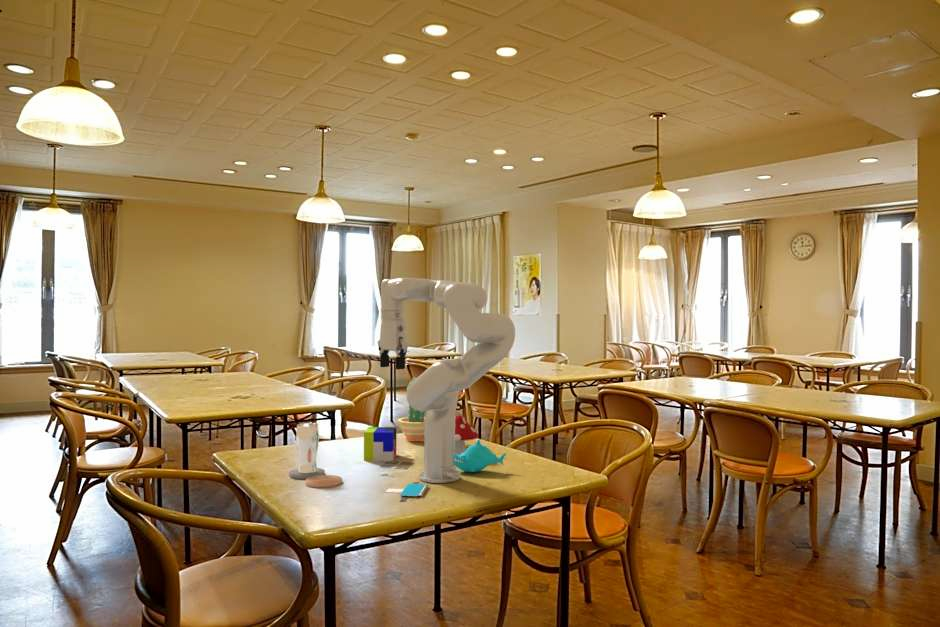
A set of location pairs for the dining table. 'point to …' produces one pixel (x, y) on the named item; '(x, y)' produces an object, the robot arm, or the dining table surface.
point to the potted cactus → (413, 423)
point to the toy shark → (476, 458)
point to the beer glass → (307, 447)
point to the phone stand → (410, 490)
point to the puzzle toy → (380, 444)
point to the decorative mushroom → (463, 434)
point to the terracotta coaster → (323, 481)
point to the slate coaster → (296, 475)
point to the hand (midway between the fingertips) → (392, 367)
